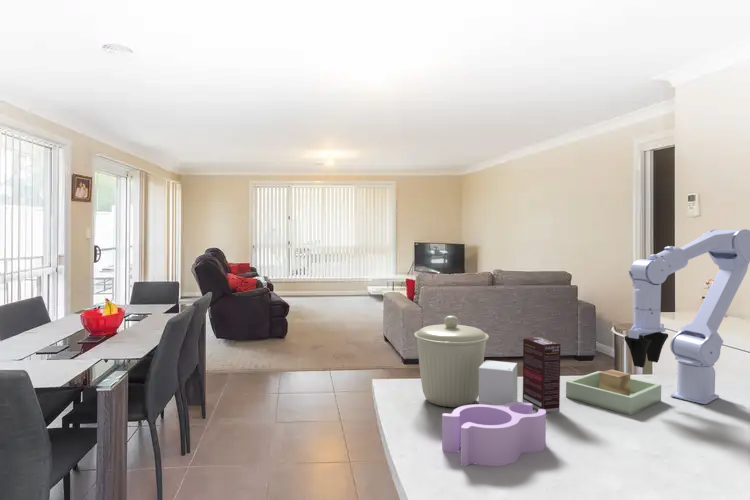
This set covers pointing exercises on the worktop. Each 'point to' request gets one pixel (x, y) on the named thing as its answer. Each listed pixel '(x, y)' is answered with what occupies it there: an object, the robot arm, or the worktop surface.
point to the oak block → (615, 381)
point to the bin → (613, 394)
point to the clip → (494, 432)
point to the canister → (450, 362)
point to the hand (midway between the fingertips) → (646, 364)
